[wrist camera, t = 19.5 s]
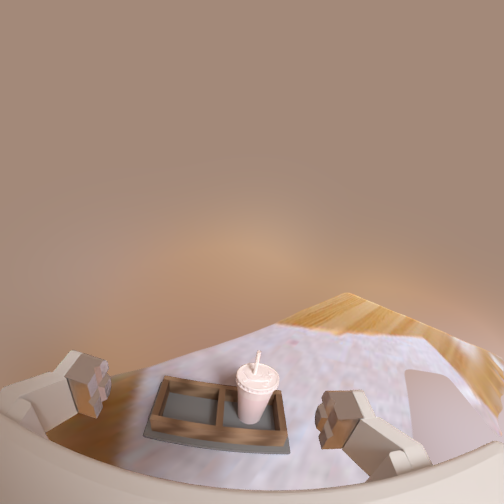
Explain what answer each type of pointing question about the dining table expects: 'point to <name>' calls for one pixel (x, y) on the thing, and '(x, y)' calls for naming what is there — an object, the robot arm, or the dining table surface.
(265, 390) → the smoothie
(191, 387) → the tray
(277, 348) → the dining table surface
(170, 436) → the mat
